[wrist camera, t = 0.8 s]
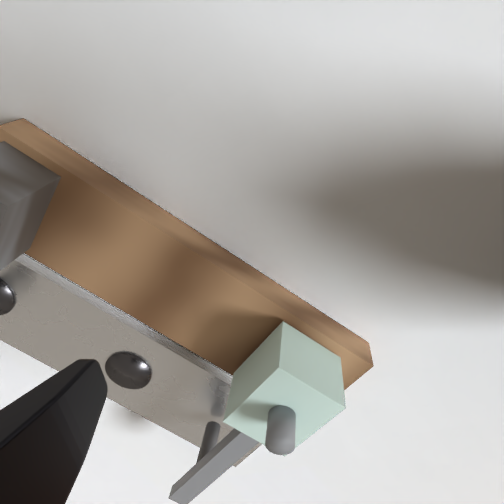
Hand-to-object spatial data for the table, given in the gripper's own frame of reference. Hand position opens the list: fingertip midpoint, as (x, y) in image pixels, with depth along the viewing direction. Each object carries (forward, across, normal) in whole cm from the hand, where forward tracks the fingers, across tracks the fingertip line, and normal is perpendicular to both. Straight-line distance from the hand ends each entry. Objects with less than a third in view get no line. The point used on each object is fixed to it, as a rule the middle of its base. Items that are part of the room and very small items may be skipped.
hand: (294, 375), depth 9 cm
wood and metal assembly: (+13, +10, +9) cm, 19 cm away
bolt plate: (+13, +13, +12) cm, 22 cm away
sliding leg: (+12, +5, +14) cm, 19 cm away
